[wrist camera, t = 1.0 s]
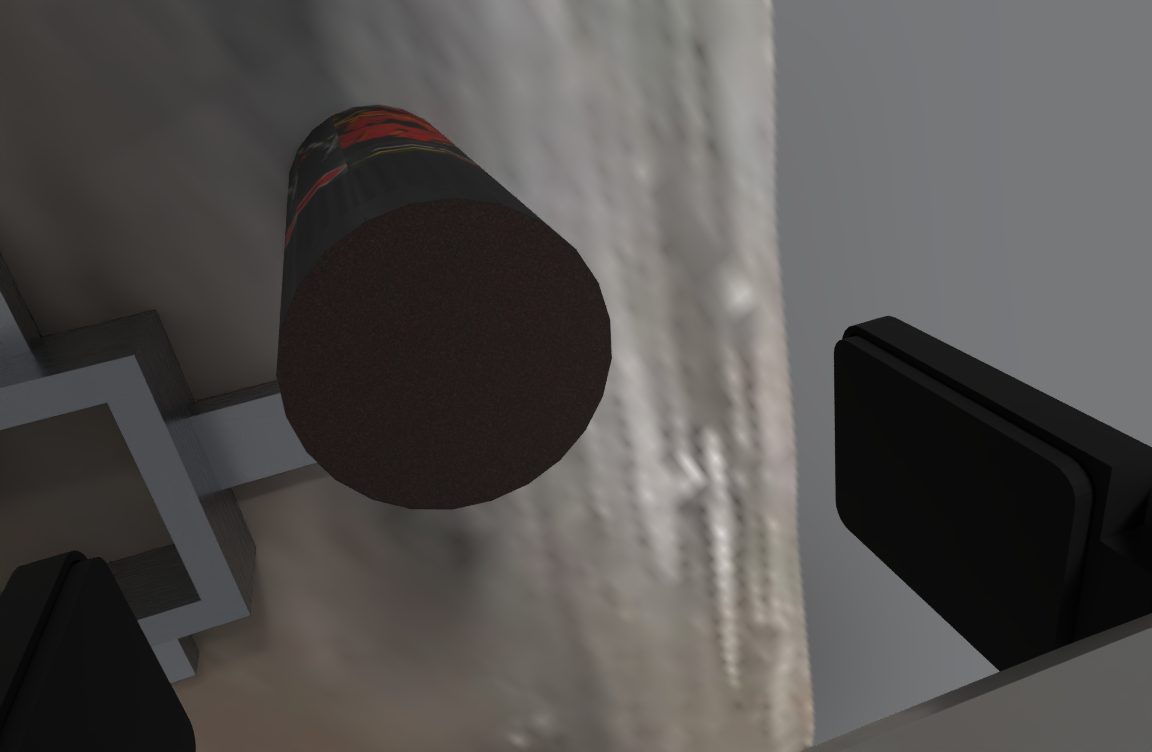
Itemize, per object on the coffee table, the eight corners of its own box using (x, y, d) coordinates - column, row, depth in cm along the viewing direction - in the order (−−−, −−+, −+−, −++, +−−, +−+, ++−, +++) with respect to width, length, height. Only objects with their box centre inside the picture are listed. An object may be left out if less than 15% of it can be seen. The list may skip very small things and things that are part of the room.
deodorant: (255, 228, 27) (211, 438, 13) (342, 67, 25) (388, 125, 12) (413, 309, 29) (505, 549, 16) (498, 167, 28) (671, 301, 15)
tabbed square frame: (-441, 303, 22) (-580, 358, 18) (239, 163, 26) (229, 187, 22) (-94, 748, 30) (-145, 845, 27) (385, 593, 34) (395, 660, 30)
